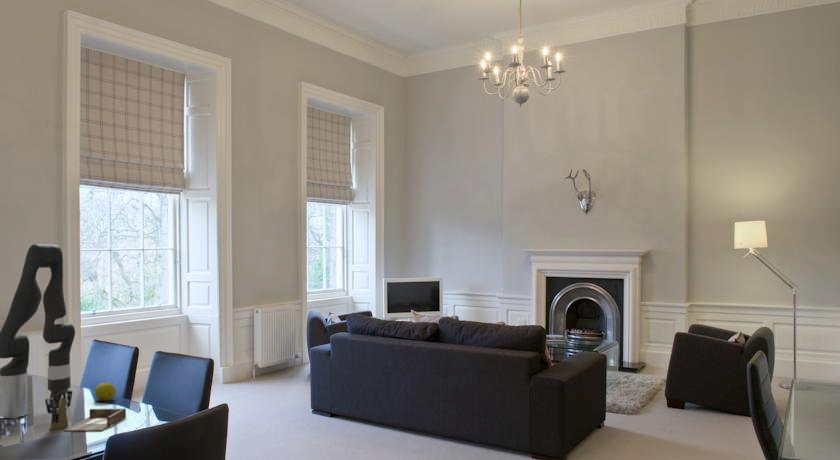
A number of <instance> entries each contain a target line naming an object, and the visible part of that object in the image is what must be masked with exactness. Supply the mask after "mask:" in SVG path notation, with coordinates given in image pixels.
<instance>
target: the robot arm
mask: <svg viewBox="0 0 840 460" xmlns="http://www.w3.org/2000/svg"><path fill="white" fill-rule="evenodd" d="M63 256H64V255H63V252H62V249H61V247H60V246H59V245H58V244H54V243H53V244H51V243H48V244H47V243H36V244H34V243H33V244H32V245H30V246H29V248H28V249H27V252H26V256H25V260H24V264H23V268H22V271H21V272H22V273H21V277H20V279H19V282H18V285H17V288H16V290H15V293H14V296H13V298H12V302H11V304H10V308H9V311H8V313H7V316H6V318H5V321H4V323H3V325H2V327H1V330H0V359H10V358H12V359H11V360H10V361H9V362H8V363H7V364H5V365H3V366H2V367H0V416H1V417H3V418H14V419H16V418H15V417H19V416H23V415H25V414H27V415H28V368H29V360H30V359H29V358H30V339H29V337H28V336H27V335H28V334H26V333H23V332H22V333H21V332H19V330H20V329H21V328H22V327H23V326H24V325H25V324H27V322H29V321H30V320H31V319H32V317H34V315H36V314H37V311H38V309H39V306H40V303H41V301H42V304H43V308H44V309H43V310H44V325H43V331H42V337H43V341H44V342H45V343H47V344H51V345H52V344H57V343H59V346H57V347H56V348H54V349H51V350H50V351H49V352H48V368H47V390H48V391H50V394H49V395H50V396H49V398H46V399H45V401H44V403H45V406H46V407H45V408H46V411H47V414H51V418H52V423H54V422H56V423H58V419H59V408H60V407H61V404H60V403H61V401H62V399H63V398H65V399H66V400H67V405H66V406H65V407H66V411H67V410H68V408H69V407H70V406H71V404H72V403H71V402H72V396H73V390H69V389H70V388H71V382H72V381H71V373H72V372H71V349H72V345H73V343H74V339H75V335H76V329H75V326H74V325H73V324H72V323H70V322H65V323H57V324H56V323H55V321H56V320H59V319H62V318H65V316H67V309H66V302H65V297H64V288H63V287H64V285H63V284H64V283H63V282H64V281H63V280H64V263H63V262H64V259H63V258H64V257H63ZM41 268H49V269H50V279H49V282H48V285H47V287H46V288H45V289H44V293H43V295H42V291H41V289H40V287H39V284H38V282H37V272H38V270H39V269H41ZM54 403H58V405H55V404H54ZM55 407H56V409H55ZM25 416H26V415H25ZM23 417H24V416H23ZM19 418H20V417H19Z"/></svg>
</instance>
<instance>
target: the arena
mask: <svg viewBox="0 0 840 460" xmlns="http://www.w3.org/2000/svg"><path fill="white" fill-rule="evenodd" d="M124 417H127V411H126V408H90V409H89V417H86V418H85V419H83V420H81V421H78V422H77V423H75V424H74V425H71V426H68V427H67V428H64V432H67V433H71V432H77V433H78V432H81V431H99V432H103V431H105V430H107V429H108V427H109V428H110V427H112V426H113V424H114V425H115V424H117V423H119V422H120V421H122V420H123V418H124ZM121 419H122V420H121ZM124 419H125V418H124ZM118 421H119V422H118ZM116 422H117V423H116ZM111 425H112V426H111ZM106 428H107V429H106ZM104 429H105V430H104ZM102 430H103V431H102Z"/></svg>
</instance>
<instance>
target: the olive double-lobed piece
mask: <svg viewBox="0 0 840 460" xmlns="http://www.w3.org/2000/svg"><path fill="white" fill-rule="evenodd" d="M54 404H55V405H58V403H54ZM60 404H61V407H60V408H59V419H58V423H56V422H54V423H52V417H51V420H50V426H49V429H50V430H53V431H57V430H62V429H64V430H65V429H67V428H69V422H68V415H67V410H66V407H65V406H66V405H67V400H66V399H65V398H63V399H62V401H61V403H60ZM55 409H56V407H55Z"/></svg>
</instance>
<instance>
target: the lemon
mask: <svg viewBox="0 0 840 460" xmlns="http://www.w3.org/2000/svg"><path fill="white" fill-rule="evenodd" d="M94 392H95V393H94V394H95V395H94V396H95V397H96V398H97V399H98V400H100V401H103V402H108V401H110V400H113V398H114V397H115V396H116V393H117V388H116V386H115V385H114V384H113V383H111V382H108V381H107V382H101V383H99V384H97V386H96V387H95V390H94Z"/></svg>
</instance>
